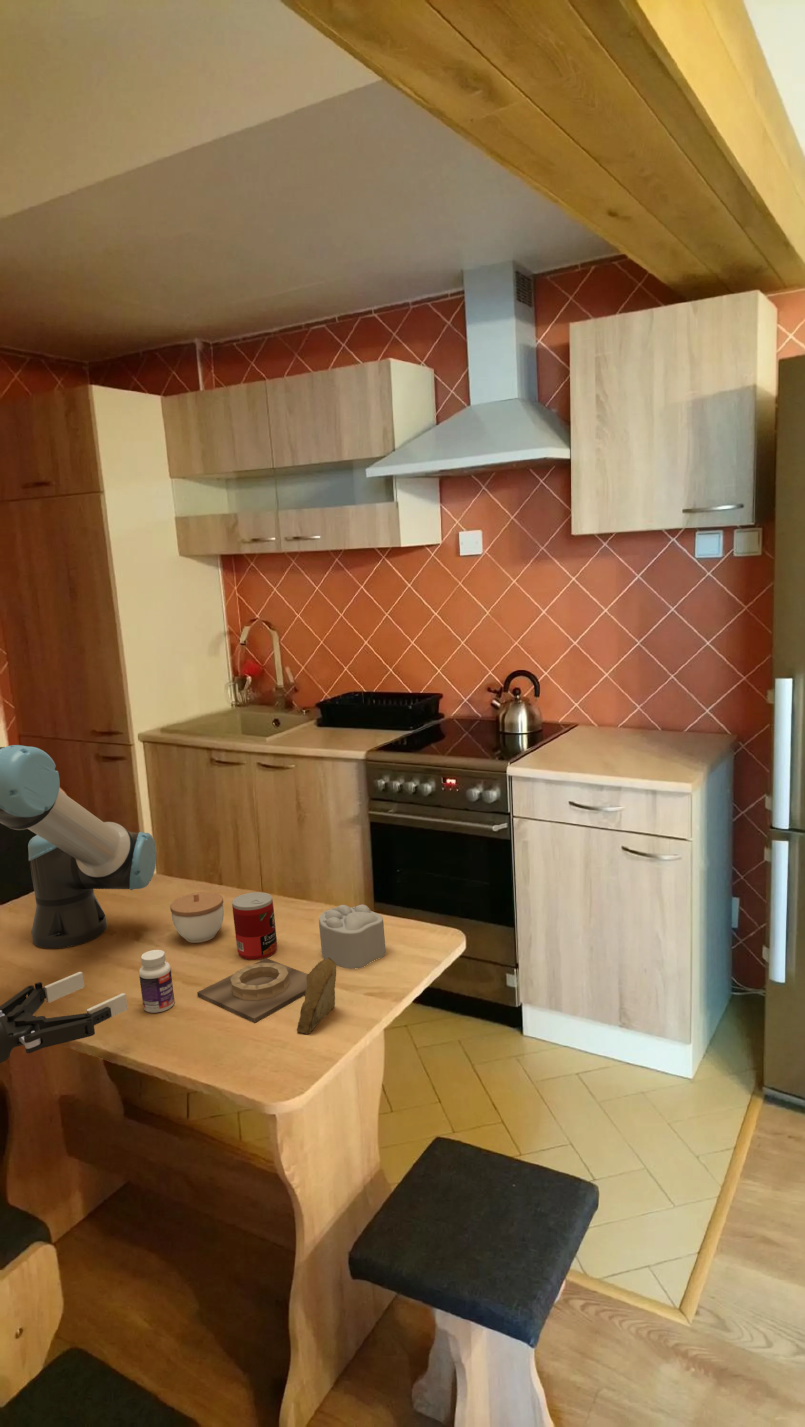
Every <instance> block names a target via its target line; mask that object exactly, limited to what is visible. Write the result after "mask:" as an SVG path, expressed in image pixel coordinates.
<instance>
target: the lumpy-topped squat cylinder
mask: <svg viewBox="0 0 805 1427" xmlns="http://www.w3.org/2000/svg"><path fill="white" fill-rule="evenodd" d="M318 927H319V928H318V929H319V936H320V938H319V939H320V947H321V955H322V958H323V960H324V959H325V960H326V959H327V958H328V957H329V958H331V959H332V960H333V961H334V962H335V963H336V967H337V966H338V967H341V968H343V969H348V970H356V969H355V968H358V969H362V968H365V967H367V966H368V965H370V964H371V963H373V962H374V960H375V961H377V960H376V959H378V958H380V959H382V958H384V957H385V956H386V955H385V953H386V954H387V952H386V951H387V950H386V938H385V936H386V935H385V926H384V918H383V916H382V915H381V914H379V913H377V912H374V911H372V910H371V909H370V908H369V907H368V906H367V905H366V904H364V903H363V904H359V905H356V906H353V907H352V906H351V907H350V906H348V905H346V904H340V905H338V906H336V908H335V907H332V908H330V909H327V910H325V911H323V912H322V913H321V914H320V915H319V917H318ZM384 955H385V956H384ZM383 956H384V957H383ZM381 957H382V958H381ZM378 960H379V959H378ZM372 961H373V962H372ZM370 962H371V963H370ZM369 963H370V964H369ZM367 964H368V965H367ZM366 965H367V966H366ZM364 966H365V967H364Z"/></svg>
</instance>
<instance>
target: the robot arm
mask: <svg viewBox="0 0 805 1427" xmlns="http://www.w3.org/2000/svg"><path fill="white" fill-rule="evenodd" d="M56 767H57V765H56V763H55V761H54V760H53V758H52V757H51V756H50V755H49V754H48V753H47V752H45V750H42V749H40V748H39V747H35V746H27V745H21V744H12V745H7V746H0V824H1V825H3V826H5V827H7V828H9V829H11V830H16V831H21V830H22V831H24V830H29V831H30V832H32V833H34V834H35V836H33V837H32V838H30V840H29V842H28V845H27V849H28V862H29V867H30V872H31V879H32V884H33V885H32V886H33V890H34V896H35V904H36V905H35V906H36V907H35V912H34V917H33V923H32V926H31V937H32V943H33V944H34V945H35V946H37V947H38V948H43V949H49V950H50V949H63V948H64V949H65V948H70V947H75V946H79V945H82V944H85V943H88V942H90V941H92V940H95V939H96V938H98V937H99V936H101V935H103V934H104V933H105V931H107V929H108V923H107V921H108V920H107V917H106V914H105V911H104V910H103V908H102V906H101V903H100V901H99V900H98V899H97V897H96V894H95V892H94V891H95V890H130V891H133V890H138V889H139V890H141V889H144V888H146V887H148V885H149V884H150V882H151V881H152V879H153V877H154V875H155V870H156V864H157V847H156V841H155V838H154V836H153V835H152V834H150V833H149V832H143V831H139V832H132V831H129V830H128V829H127V828H125V827H124V826H122V825H121V824H120V823H117V822H113V821H103V820H101V819H100V818H99V817H97V816H96V815H94V814H93V813H91V811H89V810H88V809H86V808H85V807H83V806H82V805H81V804H79V803H78V802H76V801H75V800H74V799H72V798H71V797H70V796H68V795H67V794H66V793H64V792H63V791H62V790H61V788H60V785H61V784H60V782H61V781H60V780H61V779H60V774H59V771H58V770H56ZM84 988H85V981H84V972H82V971H78V972H76V973H73V974H72V975H71V974H70V975H69V976H66V977H63V978H62V979H59V980H57V981H54V982H52V983H49V984H47V985H45V986H43V982H41V981H40V982H35V983H34V985H32V984H31V985H28V986H26V987H24V989H21V991H19V992H17V993H16V994H15V995H13V996H12V997H11V998H10V999H8V1000H7V1001H6V1002H4V1003H3V1004H1V1005H0V1064H1V1063H4V1062H6V1061H8V1059H9V1058H10V1056H11V1052H12V1051H13V1049H14V1048H16V1047H21V1046H24V1047H25V1053H26V1054H32V1053H34V1052H37V1051H39V1050H42V1049H44V1048H48V1047H53V1046H56V1045H60V1044H64V1043H69V1042H72V1041H78V1040H81V1039H84V1038H89V1037H92V1036H94V1035H95V1034H96V1031H95V1026H97V1025H99V1024H100V1023H102V1022H105V1021H107V1020H108V1019H111V1018H113V1017H116V1016H117V1015H119V1014H121V1013H124V1012H126V1011H128V1010H129V1008H128V1001H127V995H126V993H125V992H122V993H119V994H118V995H116V996H113V997H111V998H109V999H106V1000H104V1001H103V1002H100V1003H98V1004H95V1005H93V1006H91V1007H90V1008H89V1007H88V1008H87V1009H86V1012H85V1013H77V1014H70V1015H69V1014H68V1015H63V1016H61V1015H60V1016H53V1017H45V1016H46V1015H45V1016H44V1015H39V1016H37V1015H35V1013H36V1012H37V1011H38V1010H39V1009H40V1007H41V1006H42V1005H43V1004H44V1002H45V1001H46V1003H48V1004H49V1003H52V1002H54V1001H56V1000H59V999H62V998H63V997H66V996H68V995H70V994H73V993H75V992H77V991H79V990H81V989H84Z"/></svg>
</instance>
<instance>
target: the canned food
mask: <svg viewBox="0 0 805 1427" xmlns="http://www.w3.org/2000/svg"><path fill="white" fill-rule="evenodd" d="M231 903H232V904H231V905H232V906H231V907H232V915H233V916H232V917H233V922H234V923H233V924H234V925H233V926H234V933H235V941H236V942H235V943H236V951H237V953H238V955H239V957H240V958H242V959H244V960H248V961H249V960H253V961H254V960H256V961H257V960H263V959H265V958H269V957H271V956H273V955H274V954H275V953H277V952H276V951H277V948H278V940H277V938H278V937H277V931H276V930H277V929H276V920H275V912H274V911H275V910H274V902H273V896H272V894H269V893H267V892H262V891H261V892H260V891H259V892H258V891H257V892H247V893H244V894H240V895H237V896H236V897H234V898H233V900H232V902H231Z"/></svg>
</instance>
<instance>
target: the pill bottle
mask: <svg viewBox="0 0 805 1427" xmlns="http://www.w3.org/2000/svg"><path fill="white" fill-rule="evenodd" d="M140 959H141V967H140V968H139V970H138V975H139V976H138V977H139V984H140V994H141V1000H142V1006H143V1009H144V1011H145V1012H147V1013H150V1014H151V1013H152V1014H154V1013H162V1012H165V1011H168V1010H169V1009H171V1008H172V1007H173V1005H174V1004H175V993H174V986H173V985H174V984H173V976H172V968H171V965H170V963H169V962H168V961H166V952H165V951H164V950H161V949H153V950H148V951H146V952H144V953H142V955H141V957H140Z"/></svg>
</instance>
